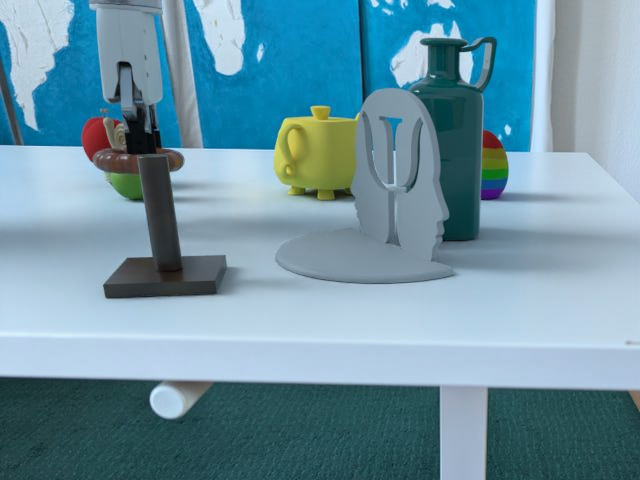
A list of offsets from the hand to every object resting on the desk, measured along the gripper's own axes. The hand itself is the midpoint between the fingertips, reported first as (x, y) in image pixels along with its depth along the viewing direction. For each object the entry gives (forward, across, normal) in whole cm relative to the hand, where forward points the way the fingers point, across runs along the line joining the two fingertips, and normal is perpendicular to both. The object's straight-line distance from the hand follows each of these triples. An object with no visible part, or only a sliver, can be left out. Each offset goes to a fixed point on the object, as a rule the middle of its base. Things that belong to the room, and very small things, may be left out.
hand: (146, 164), depth 87 cm
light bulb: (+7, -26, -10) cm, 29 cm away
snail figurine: (+7, -14, -5) cm, 17 cm away
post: (+7, +29, +7) cm, 30 cm away
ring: (-1, +4, 0) cm, 4 cm away
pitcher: (+6, +12, +36) cm, 38 cm away
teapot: (+6, -18, +23) cm, 30 cm away
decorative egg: (+6, -13, +46) cm, 48 cm away
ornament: (+6, +23, +23) cm, 33 cm away
